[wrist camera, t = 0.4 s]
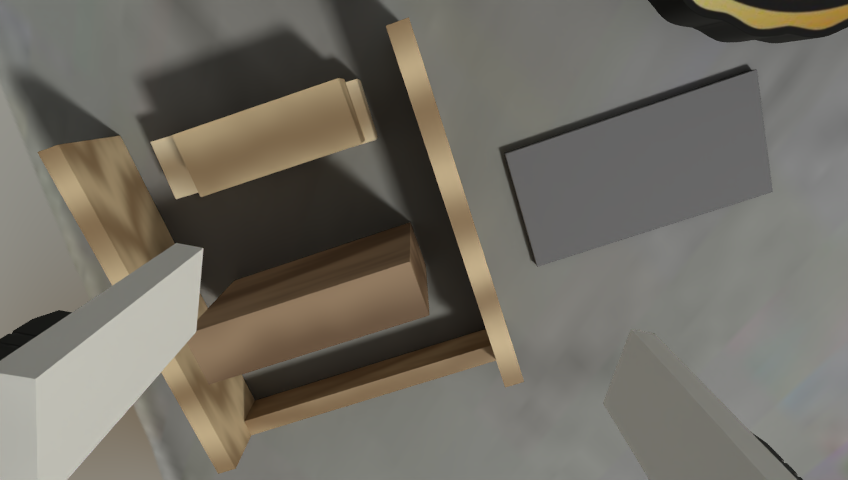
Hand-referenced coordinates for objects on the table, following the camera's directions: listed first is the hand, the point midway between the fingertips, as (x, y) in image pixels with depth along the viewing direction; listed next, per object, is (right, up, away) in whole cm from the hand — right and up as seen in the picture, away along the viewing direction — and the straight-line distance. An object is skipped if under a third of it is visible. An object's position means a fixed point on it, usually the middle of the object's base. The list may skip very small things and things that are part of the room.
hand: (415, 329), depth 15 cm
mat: (+18, +8, +25) cm, 32 cm away
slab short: (-11, +10, +21) cm, 26 cm away
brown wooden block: (-8, 0, +27) cm, 28 cm away
